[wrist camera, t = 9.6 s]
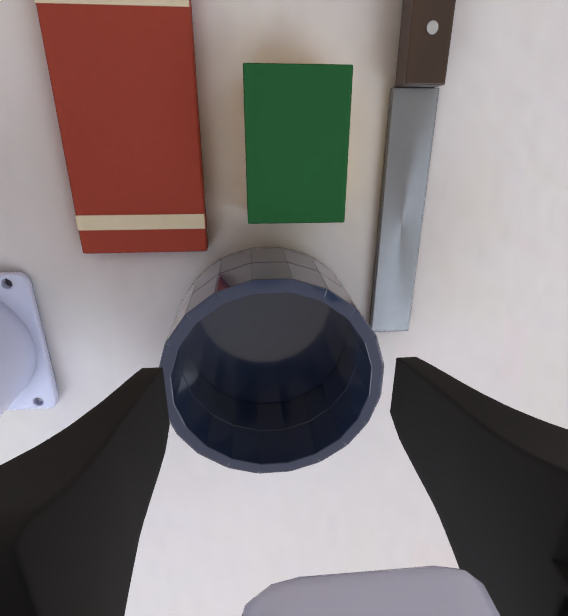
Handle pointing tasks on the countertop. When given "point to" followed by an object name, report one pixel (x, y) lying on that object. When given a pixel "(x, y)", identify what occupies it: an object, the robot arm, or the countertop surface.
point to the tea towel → (128, 121)
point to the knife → (408, 157)
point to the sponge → (296, 141)
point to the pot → (270, 363)
